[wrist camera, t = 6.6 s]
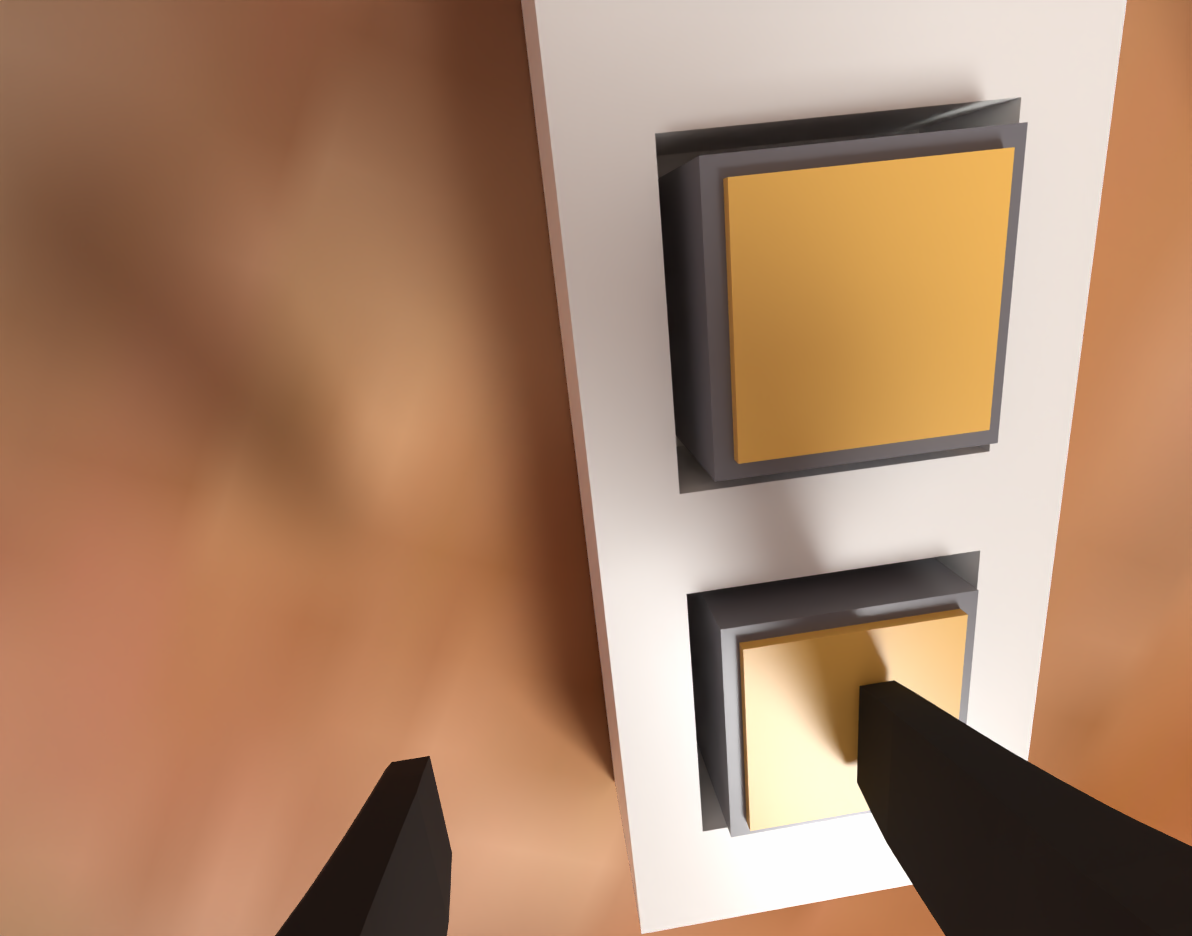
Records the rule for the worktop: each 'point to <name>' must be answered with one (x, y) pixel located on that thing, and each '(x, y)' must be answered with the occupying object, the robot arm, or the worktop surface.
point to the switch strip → (819, 495)
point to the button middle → (841, 297)
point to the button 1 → (817, 680)
